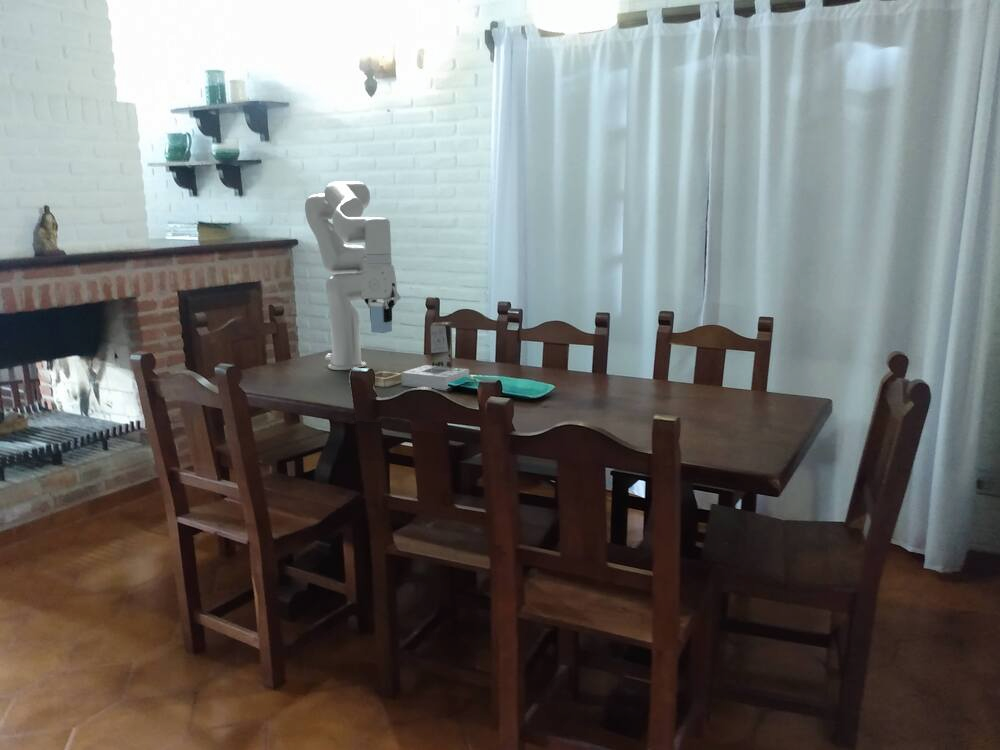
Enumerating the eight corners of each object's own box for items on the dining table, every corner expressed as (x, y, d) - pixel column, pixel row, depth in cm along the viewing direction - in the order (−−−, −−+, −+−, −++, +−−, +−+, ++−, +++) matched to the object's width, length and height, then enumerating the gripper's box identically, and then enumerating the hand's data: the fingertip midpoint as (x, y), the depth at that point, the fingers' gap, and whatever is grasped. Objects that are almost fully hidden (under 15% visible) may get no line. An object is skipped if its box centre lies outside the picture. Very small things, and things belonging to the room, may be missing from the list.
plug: (371, 332, 230) (370, 302, 228) (380, 330, 234) (379, 301, 232) (383, 333, 228) (381, 303, 226) (392, 331, 232) (390, 301, 230)
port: (401, 385, 230) (401, 371, 229) (426, 377, 241) (425, 363, 240) (446, 390, 223) (445, 375, 222) (469, 382, 234) (469, 368, 233)
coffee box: (451, 374, 245) (449, 325, 242) (431, 375, 245) (429, 325, 242) (453, 369, 254) (452, 321, 251) (434, 369, 254) (432, 321, 251)
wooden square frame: (363, 384, 232) (363, 376, 232) (381, 378, 240) (381, 371, 239) (386, 387, 228) (386, 378, 228) (404, 381, 236) (403, 373, 235)
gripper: (348, 260, 227) (351, 321, 231) (394, 261, 219) (396, 324, 223) (364, 259, 234) (367, 318, 237) (409, 260, 226) (411, 321, 229)
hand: (381, 320), depth 230 cm, fingers closed on plug, 4 cm apart
